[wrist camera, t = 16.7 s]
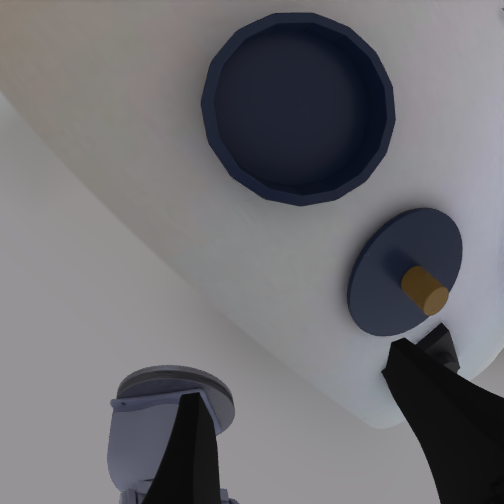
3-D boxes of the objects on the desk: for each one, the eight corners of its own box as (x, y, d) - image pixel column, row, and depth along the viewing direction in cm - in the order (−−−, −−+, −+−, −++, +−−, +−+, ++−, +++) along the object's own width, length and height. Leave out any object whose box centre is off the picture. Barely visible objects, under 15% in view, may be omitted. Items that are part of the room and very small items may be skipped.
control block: (380, 371, 28) (393, 392, 25) (441, 322, 27) (458, 340, 24) (405, 400, 32) (415, 417, 30) (454, 361, 31) (467, 376, 28)
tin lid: (341, 343, 25) (362, 380, 21) (342, 219, 20) (375, 247, 16) (443, 307, 26) (469, 333, 22) (461, 195, 20) (498, 215, 17)
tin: (220, 208, 18) (223, 222, 16) (188, 34, 13) (187, 23, 11) (377, 179, 19) (398, 189, 17) (361, 25, 14) (382, 17, 12)
